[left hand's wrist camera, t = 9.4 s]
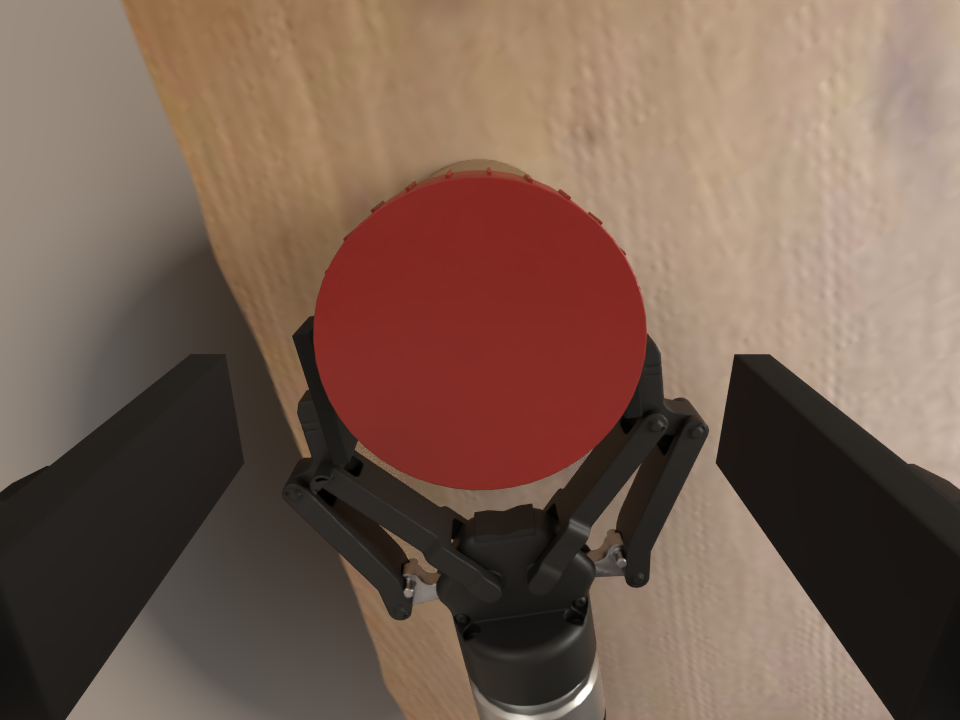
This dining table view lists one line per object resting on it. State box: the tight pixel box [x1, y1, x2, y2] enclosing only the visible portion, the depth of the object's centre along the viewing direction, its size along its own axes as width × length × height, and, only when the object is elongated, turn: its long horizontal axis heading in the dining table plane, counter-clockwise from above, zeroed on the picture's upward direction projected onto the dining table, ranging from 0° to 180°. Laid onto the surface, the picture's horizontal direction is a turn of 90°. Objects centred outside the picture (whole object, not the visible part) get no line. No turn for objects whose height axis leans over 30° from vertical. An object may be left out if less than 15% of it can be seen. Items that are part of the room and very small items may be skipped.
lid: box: [313, 167, 647, 490], centre depth 18 cm, size 10×10×2 cm
